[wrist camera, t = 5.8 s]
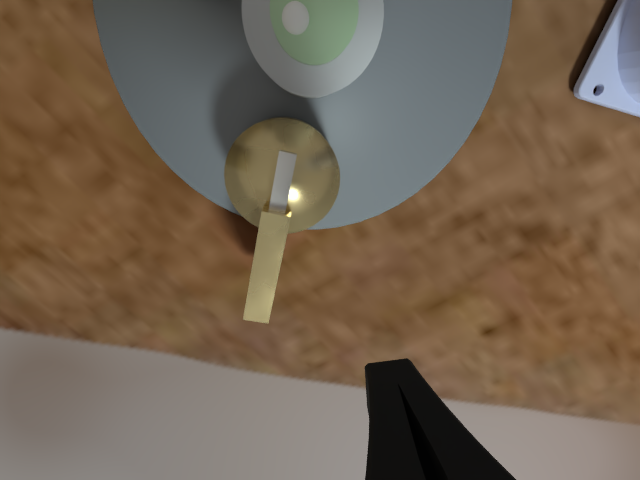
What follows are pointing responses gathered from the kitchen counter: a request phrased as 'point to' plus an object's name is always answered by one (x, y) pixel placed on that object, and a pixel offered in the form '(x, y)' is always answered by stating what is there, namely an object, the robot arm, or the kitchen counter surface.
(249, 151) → the knob
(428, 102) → the plate
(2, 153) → the kitchen counter surface
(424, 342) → the kitchen counter surface
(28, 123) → the kitchen counter surface
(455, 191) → the kitchen counter surface
